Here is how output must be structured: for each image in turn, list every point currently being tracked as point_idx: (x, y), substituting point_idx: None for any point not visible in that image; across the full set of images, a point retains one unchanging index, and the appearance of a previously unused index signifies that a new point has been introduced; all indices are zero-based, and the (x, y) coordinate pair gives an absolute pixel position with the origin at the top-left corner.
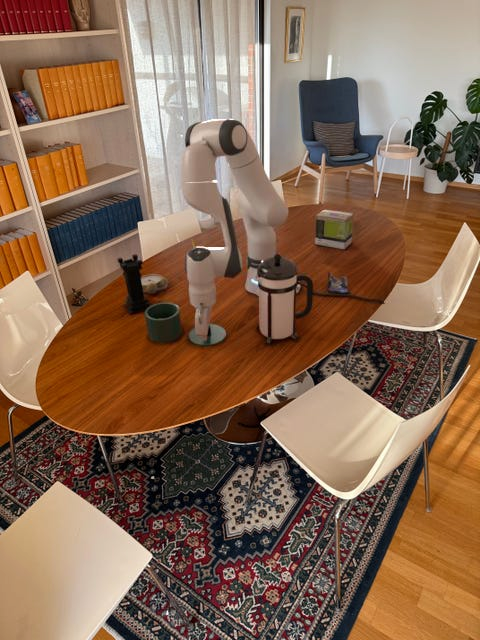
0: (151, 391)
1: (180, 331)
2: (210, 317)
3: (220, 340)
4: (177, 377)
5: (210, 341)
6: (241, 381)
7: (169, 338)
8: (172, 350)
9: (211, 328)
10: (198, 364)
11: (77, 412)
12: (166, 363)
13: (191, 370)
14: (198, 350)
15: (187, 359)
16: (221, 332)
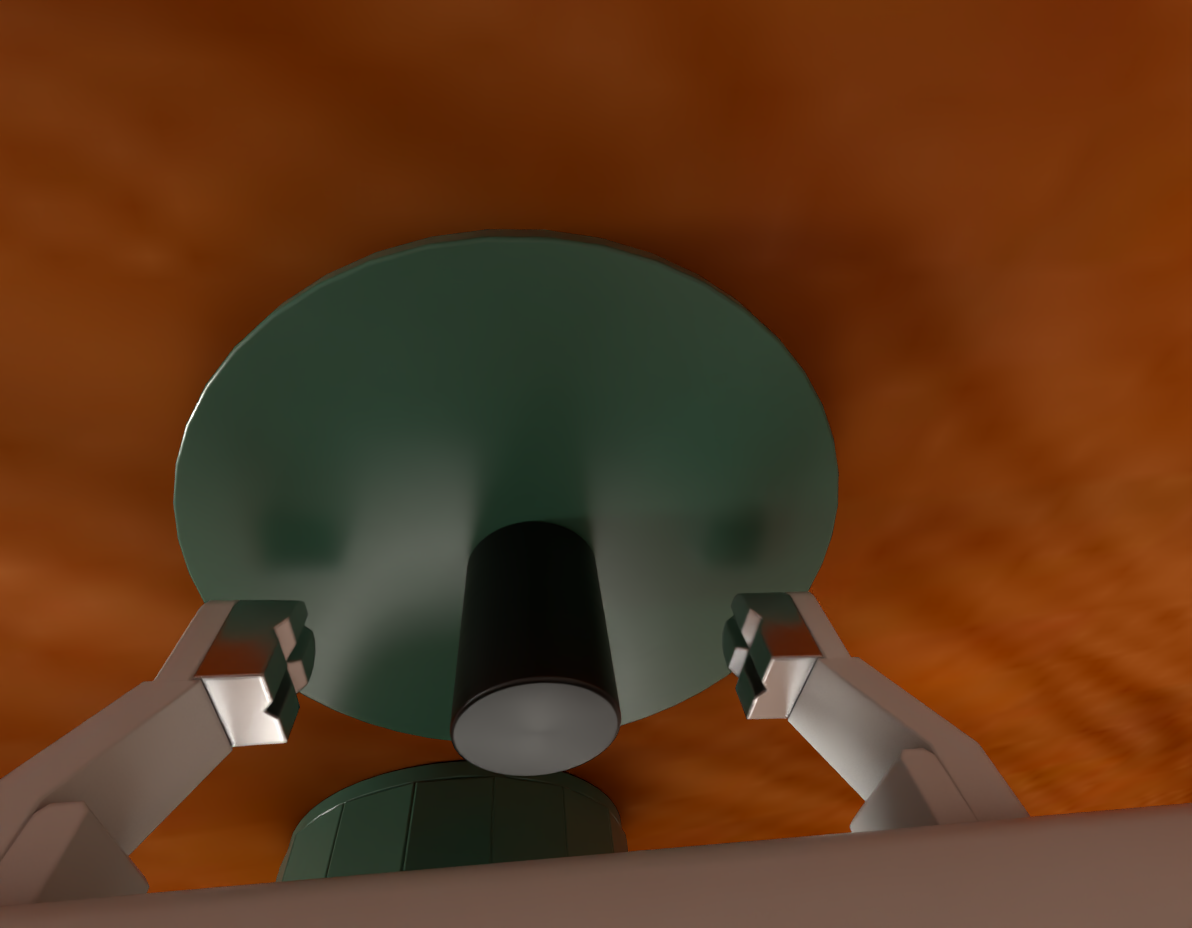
0: (1168, 772)
1: (502, 832)
2: (421, 897)
3: (778, 356)
4: (1144, 683)
5: (754, 512)
6: None
7: None
8: (739, 769)
9: (341, 527)
10: (1082, 566)
11: None
12: None
13: (1132, 610)
14: (821, 594)
15: (936, 659)
16: (482, 342)
